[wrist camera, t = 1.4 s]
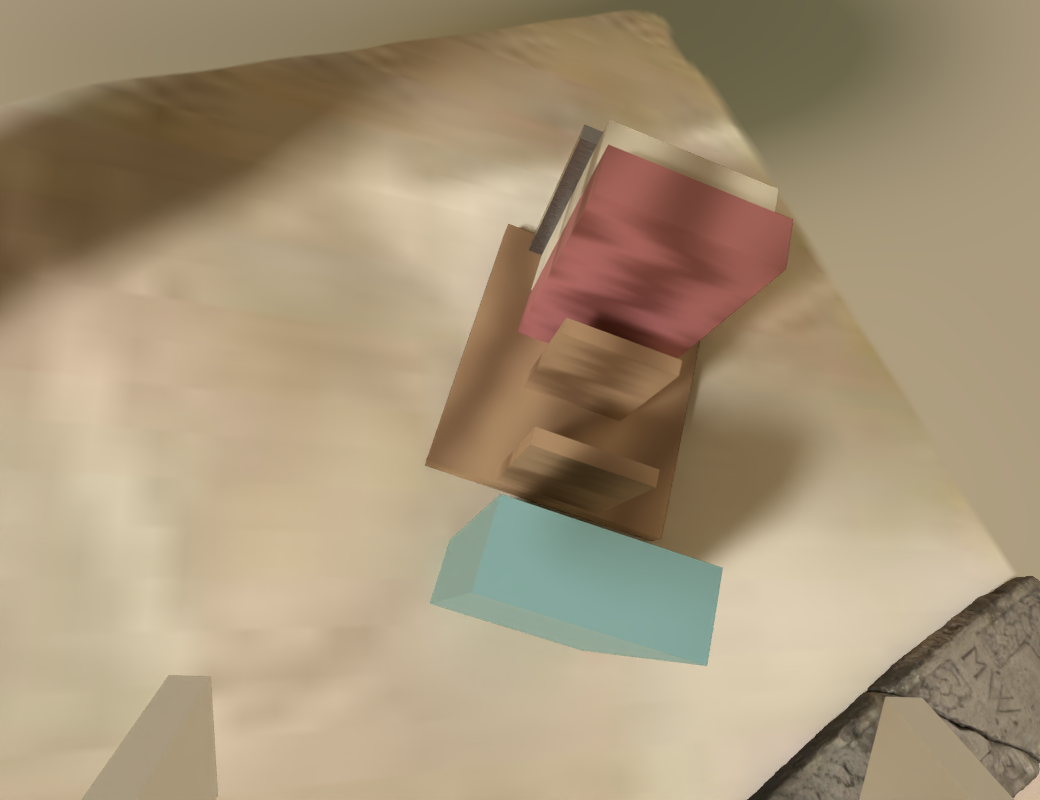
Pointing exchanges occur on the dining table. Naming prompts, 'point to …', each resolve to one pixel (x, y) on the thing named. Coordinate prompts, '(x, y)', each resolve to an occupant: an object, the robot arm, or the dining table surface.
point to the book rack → (606, 328)
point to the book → (579, 584)
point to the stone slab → (943, 700)
